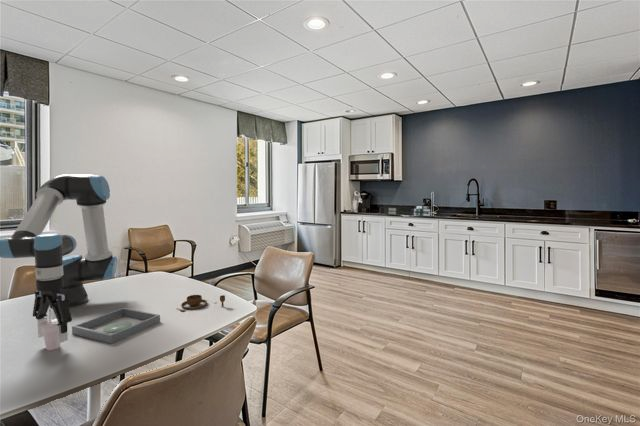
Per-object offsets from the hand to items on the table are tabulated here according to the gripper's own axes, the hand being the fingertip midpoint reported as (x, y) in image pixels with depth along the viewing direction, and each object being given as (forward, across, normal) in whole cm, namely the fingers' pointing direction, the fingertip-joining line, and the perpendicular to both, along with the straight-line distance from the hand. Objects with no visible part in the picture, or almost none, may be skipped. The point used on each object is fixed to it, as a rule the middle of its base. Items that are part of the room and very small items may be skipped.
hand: (52, 338), depth 117 cm
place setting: (+4, +19, +53) cm, 56 cm away
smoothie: (+4, 0, 0) cm, 4 cm away
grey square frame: (+3, +5, +21) cm, 22 cm away
